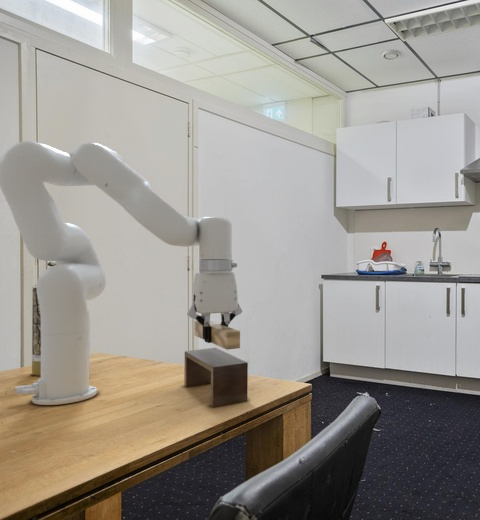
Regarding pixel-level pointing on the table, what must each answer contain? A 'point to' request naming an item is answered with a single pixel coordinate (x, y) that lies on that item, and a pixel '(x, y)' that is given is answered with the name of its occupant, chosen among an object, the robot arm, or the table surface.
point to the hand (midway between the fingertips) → (215, 340)
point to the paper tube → (36, 334)
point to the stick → (220, 335)
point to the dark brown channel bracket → (217, 375)
